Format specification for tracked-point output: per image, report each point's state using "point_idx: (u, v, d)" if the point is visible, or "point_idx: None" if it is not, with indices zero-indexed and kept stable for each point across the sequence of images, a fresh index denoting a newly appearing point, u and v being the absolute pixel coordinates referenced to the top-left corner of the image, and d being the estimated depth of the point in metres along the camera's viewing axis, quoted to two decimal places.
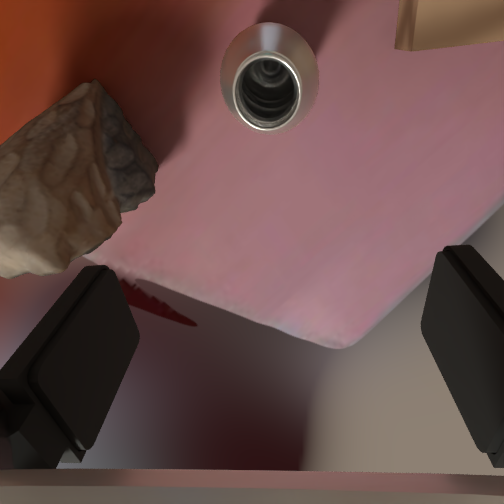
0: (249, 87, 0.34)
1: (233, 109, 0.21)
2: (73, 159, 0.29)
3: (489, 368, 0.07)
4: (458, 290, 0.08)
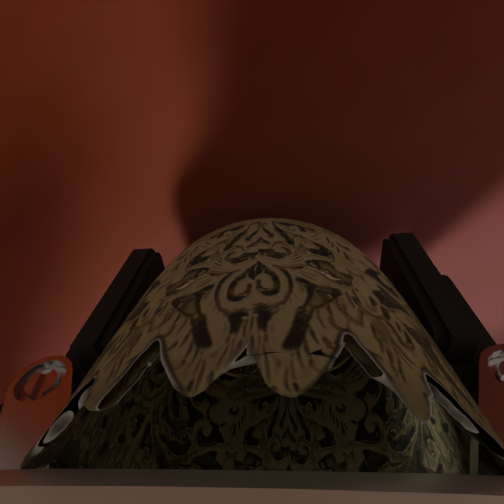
0: None
1: None
2: None
3: None
4: (396, 273, 0.09)
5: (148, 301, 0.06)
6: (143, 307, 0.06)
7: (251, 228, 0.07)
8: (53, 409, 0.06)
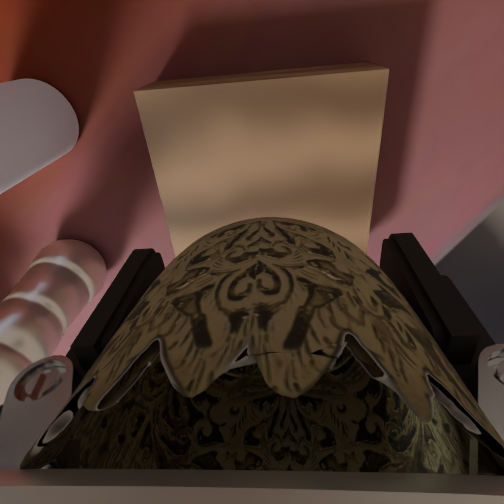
0: None
1: None
2: None
3: None
4: (395, 273, 0.09)
5: (148, 300, 0.06)
6: (143, 306, 0.06)
7: (252, 227, 0.07)
8: (54, 409, 0.06)
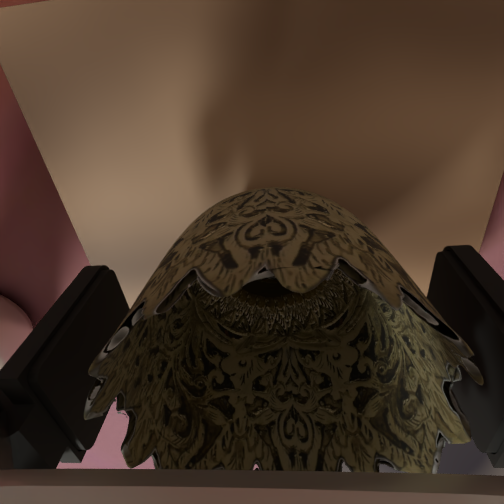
0: None
1: None
2: None
3: (489, 368, 0.07)
4: (458, 290, 0.08)
5: (176, 251, 0.07)
6: (173, 255, 0.07)
7: (258, 193, 0.08)
8: None
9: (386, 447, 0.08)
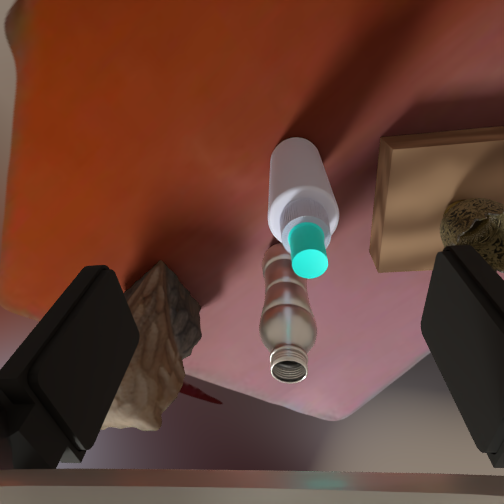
0: None
1: (267, 349, 0.37)
2: (156, 341, 0.44)
3: (489, 368, 0.07)
4: (458, 290, 0.08)
5: (470, 211, 0.32)
6: (470, 212, 0.32)
7: (480, 199, 0.34)
8: None
9: None
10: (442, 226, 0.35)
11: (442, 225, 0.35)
